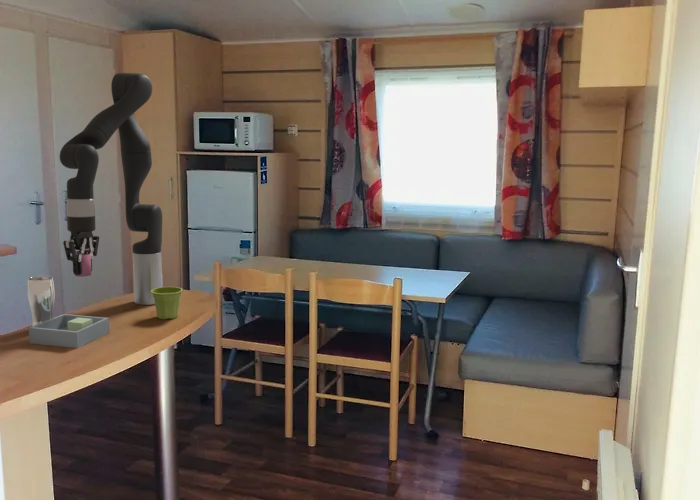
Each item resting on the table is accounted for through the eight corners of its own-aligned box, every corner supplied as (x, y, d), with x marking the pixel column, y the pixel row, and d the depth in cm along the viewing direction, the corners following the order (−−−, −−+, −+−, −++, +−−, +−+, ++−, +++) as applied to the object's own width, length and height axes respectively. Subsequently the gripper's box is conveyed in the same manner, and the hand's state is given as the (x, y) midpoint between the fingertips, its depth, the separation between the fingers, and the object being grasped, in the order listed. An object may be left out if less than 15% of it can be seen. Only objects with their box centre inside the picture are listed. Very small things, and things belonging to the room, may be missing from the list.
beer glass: (30, 326, 189) (27, 276, 187) (56, 324, 192) (53, 275, 189) (29, 333, 183) (26, 281, 180) (56, 331, 186) (53, 279, 183)
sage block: (93, 334, 180) (92, 318, 180) (82, 339, 176) (82, 323, 175) (78, 333, 181) (77, 317, 181) (68, 338, 177) (67, 321, 176)
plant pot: (171, 322, 197) (170, 294, 195) (145, 318, 200) (144, 291, 199) (189, 315, 205) (188, 288, 204) (164, 311, 209) (163, 285, 207)
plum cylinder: (81, 273, 191) (80, 253, 190) (94, 274, 190) (93, 254, 189) (71, 275, 187) (70, 255, 186) (85, 276, 186) (84, 256, 185)
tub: (64, 328, 188) (63, 313, 188) (109, 332, 185) (108, 317, 185) (29, 343, 174) (28, 327, 174) (77, 348, 171) (77, 332, 171)
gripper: (77, 217, 178) (79, 278, 181) (107, 213, 192) (108, 269, 194) (53, 216, 180) (55, 276, 182) (84, 211, 193) (86, 268, 196)
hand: (82, 272), depth 188 cm, fingers closed on plum cylinder, 4 cm apart
